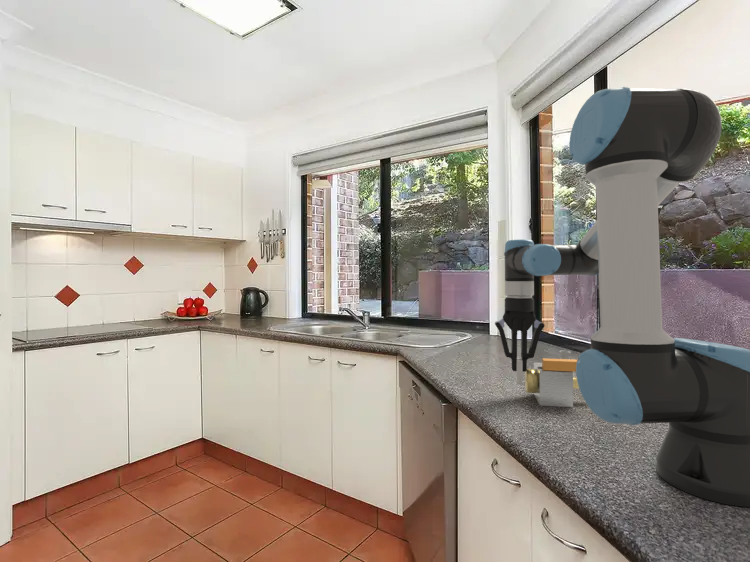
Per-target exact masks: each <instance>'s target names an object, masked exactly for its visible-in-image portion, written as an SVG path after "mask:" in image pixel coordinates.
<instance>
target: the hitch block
mask: <svg viewBox="0 0 750 562" xmlns="http://www.w3.org/2000/svg"><path fill="white" fill-rule="evenodd" d="M533 369H536V371H537V376H538V390H537V393H533V395H534V398H535V399H536V401H537V403H538V404H539V406H545V407H559V408H560V407H564V408H574V389H573V373H574V371H573V372H572V371H550V370H543V368H542V362H537V361H536V362H533Z"/></svg>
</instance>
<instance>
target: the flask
mask: <svg viewBox="0 0 750 562" xmlns="http://www.w3.org/2000/svg"><path fill="white" fill-rule="evenodd" d="M570 355H571V351H569V350H559V359H570ZM572 372H573V377H576V374H575V373H574V371H572Z"/></svg>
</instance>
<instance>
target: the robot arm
mask: <svg viewBox="0 0 750 562" xmlns="http://www.w3.org/2000/svg"><path fill="white" fill-rule="evenodd" d="M722 124H723V123H722V117H721V113H720V110H719V108H718V107H717V104H716V103H715V101H713V100H712V99H711V98H710V96H708V95H706V94H704V93H702V92H700V91H698V90H695V89H690V88H674V89H673V88H630V87H628V86H623V87H618V88H605V89H601V90H598V91H596V92H595V93H593V94H592V95H591V96H590V97H588V99H586V101H585V102H584V103H583V105H582V106H581V108H580V110H579V111H578V113H577V114H576V117H575V119H574V122H573V124H572V128H571V131H570V136H569V142H568V143H569V144H568V145H569V148H568V149H569V155H570V157H571V158H572V160H573V162H575V163H576V164H579V165H584V169H585V171H584V172H585V180H587V181H588V182H589V183H591V184H592V185H593V186H594V187H595V194H596V195H595V196H596V197H595V201H596V220H595V222H594V223H593V224H592V226H591V227H590V228H589V230H587V232H586V233H585V234H584V236H583V237H582V238H581V239H580V240H579V241H578V243H577V244H547V243H536V244H535V243H534V240H532V239H510V240H507V241H506V242H505V244H504V251H503V252H504V253H503V256H504V295H505V298H504V314H503V315H502V318H501V319H499V320H498V321H495V322H494V325H495V326H496V329H497V330H498V333H499V336H500V341H501V346H502V348H503V352H504V355H505V357H506V358H509V359H511V370H512V372H515V383H516V385H523V384H524V383H523V382H524V381H523V379H524V378H523V373H525V372H526V370H527V369H528V365H527V364H528V360H529V359H533V358H534V357H535V354H536V350H537V347H538V343H539V339H540V335H541V332H542V330H543V329H544V328H545V323H543V322H542V321H539V320H538V319H537V317H536V315H535V299H534V298H533V297H534V296H535V277H540V276H541V277H546V276H597V275H598V288H599V289H598V294H599V296H598V297H599V322H600V323H599V325H600V327H599V329H598V330H597V331H596V332H594V334H592V335H591V336H590V348H589V349H586V350H584V351H582V352H581V353H580V354H579V355H578V356H579V360H578V359H577V360H578V361H577V364H576V372H575V377H577V382H578V386H579V389H578V390H579V391H580V394H581V396H582V398H583V400H584V402H585V403H586V405H587V407H588V408H589V409H590V410H591V412H592V413H593V414H594V415H595V416H597V417H598V418H599V419H600V420H603V421H604V422H606V423H610V424H623V425H630V426H637V425H641V424H663V423H664V424H665V423H668V429H667V431H666V433H665V436H664V437H663V440H662V442H661V445H660V446H659V449H658V451H657V454H656V457H655V458H656V459H655V460H656V463H655V465H656V467H655V468H656V472H657V474H658V475H659V477H660V478H662V479H663V480H664V481H665V482H667V483H668V484H670V485H671V486H673V487H675V488H677V489H679V490H681V491H682V492H685V493H688V494H690V495H692V496H696V497H698V498H701V499H705V500H709V501H712V502H715V503H719V504H723V505H730V506H735V507H742V508H743V507H745V508H747V507H748V508H750V349H749V348H744V347H742V346H741V347H740V346H735V345H730V344H725V343H717V342H713V341H705V340H700V339H699V340H698V339H692V338H681V337H672V336H670V334H668V333H667V332H666V330H665V329H664V328H663V312H662V309H663V308H662V283H661V280H662V278H661V255H660V253H661V252H660V232H659V231H660V229H659V227H660V226H659V224H660V223H659V205H660V204H661V203H662V202H663V201H664V200H665V199H666V198H667V197H668V196H669V195H670V194H671V193H672V192H673V190H674V189H676V187H677V186H678V185H679V184H681V183H686V182H689V181H691V180H692V179H693V178H694V177H695V176H697V174H698V173H699V172H700V171H701V170H702V169H703V168H704V167H705V166H706V164H707V163H709V160H710V159H711V157H712V156H713V155H714V153H715V150H716V148H717V146H718V144H719V141H720V139H721V134H722V126H723V125H722ZM505 324H506V325H507V327H508V329H510V330H511V331H510V332H511V333H510V334H511V338H510V339H511V342H510V343H511V345H510V346H511V347H510V348H511V349H509V345H508V342H507V337H506V334H505V330H504V328H505ZM533 324H534V325H533ZM532 326H533V327H534V329H533V333H532V337H531V340H530V344H529V347H528V331H529V330H530V328H531V327H532ZM519 331H520V357H521V358H519V357H518V332H519ZM528 348H529V349H528Z"/></svg>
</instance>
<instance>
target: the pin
mask: <svg viewBox="0 0 750 562" xmlns="http://www.w3.org/2000/svg"><path fill="white" fill-rule="evenodd" d="M524 386H525V392H526V393H527V394H534V393H537V390H538V376H537V371H536V369H534V368H527V370H526V372H524ZM574 389H575V390H580V389H579V386H578V382H577V376H575V377H573V390H574Z"/></svg>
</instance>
